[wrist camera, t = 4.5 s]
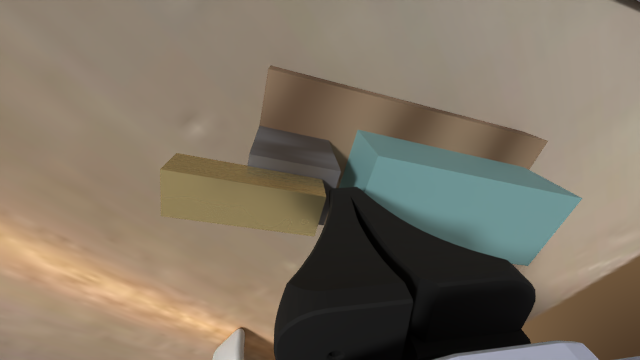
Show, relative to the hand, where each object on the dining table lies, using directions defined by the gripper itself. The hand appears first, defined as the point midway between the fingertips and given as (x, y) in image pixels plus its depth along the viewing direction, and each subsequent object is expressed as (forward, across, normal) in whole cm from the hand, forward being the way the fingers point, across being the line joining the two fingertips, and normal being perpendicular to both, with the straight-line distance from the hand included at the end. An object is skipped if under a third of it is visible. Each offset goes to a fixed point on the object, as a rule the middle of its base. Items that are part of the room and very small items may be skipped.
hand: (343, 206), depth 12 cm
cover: (+5, -7, +2) cm, 8 cm away
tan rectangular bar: (0, +4, -1) cm, 4 cm away
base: (+7, -4, +1) cm, 8 cm away
